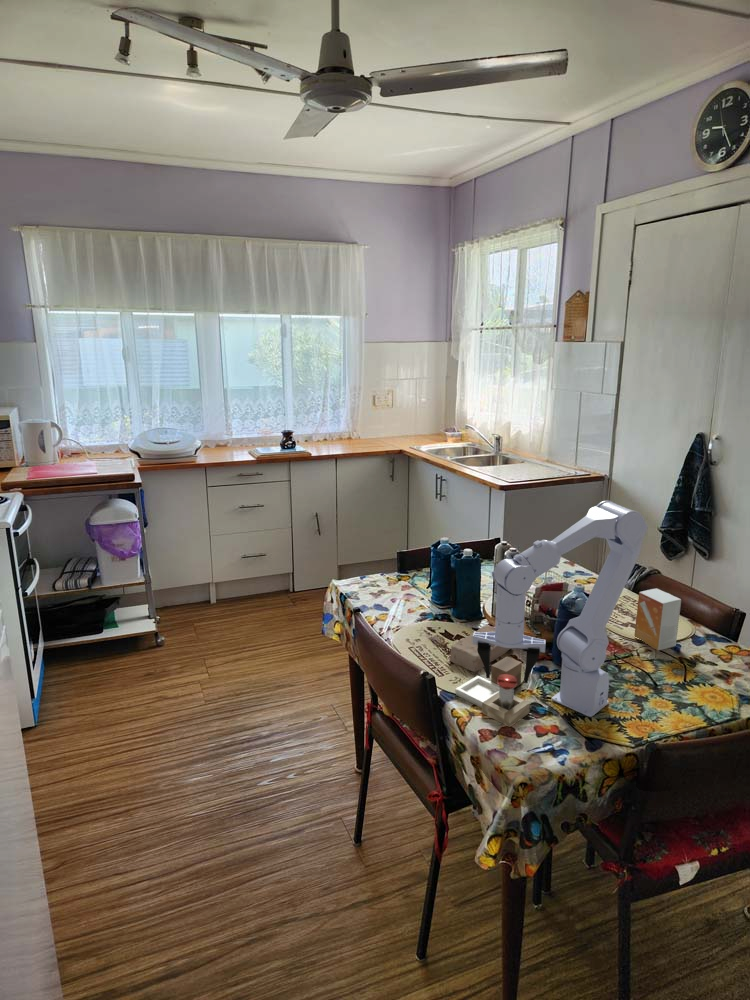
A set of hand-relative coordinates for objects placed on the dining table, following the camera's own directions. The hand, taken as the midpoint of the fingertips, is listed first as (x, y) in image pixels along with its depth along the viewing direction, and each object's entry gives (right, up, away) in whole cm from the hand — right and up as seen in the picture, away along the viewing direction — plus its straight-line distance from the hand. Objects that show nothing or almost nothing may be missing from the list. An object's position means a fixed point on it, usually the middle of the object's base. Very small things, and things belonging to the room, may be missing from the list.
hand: (506, 678), depth 133 cm
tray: (-4, -6, +9) cm, 12 cm away
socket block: (0, -8, +2) cm, 8 cm away
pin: (0, -8, +2) cm, 8 cm away
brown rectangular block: (+3, -5, +14) cm, 15 cm away
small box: (+45, 0, +32) cm, 55 cm away
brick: (-1, -2, +27) cm, 27 cm away
